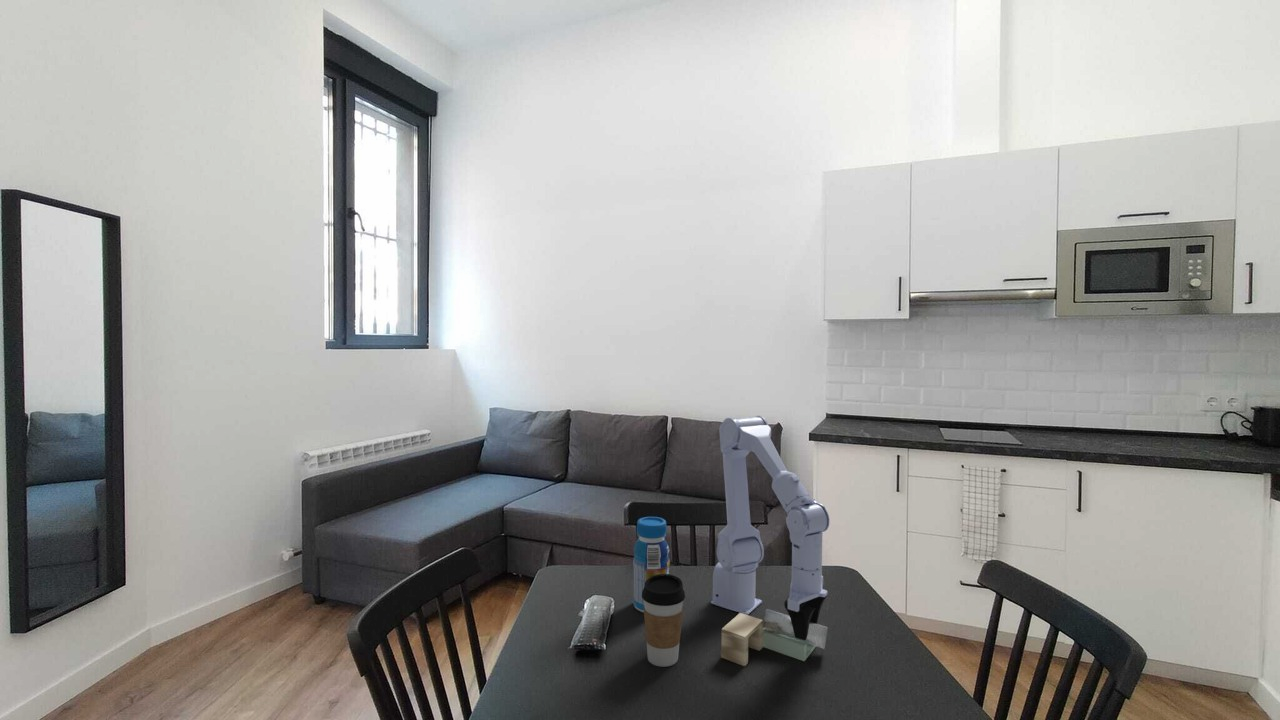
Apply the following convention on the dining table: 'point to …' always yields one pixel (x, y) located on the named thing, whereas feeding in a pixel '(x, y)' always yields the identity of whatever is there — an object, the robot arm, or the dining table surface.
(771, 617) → the axle
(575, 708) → the dining table surface
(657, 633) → the coffee cup
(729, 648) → the wooden bridge block
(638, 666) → the dining table surface
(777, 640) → the cradle
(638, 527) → the beverage bottle
